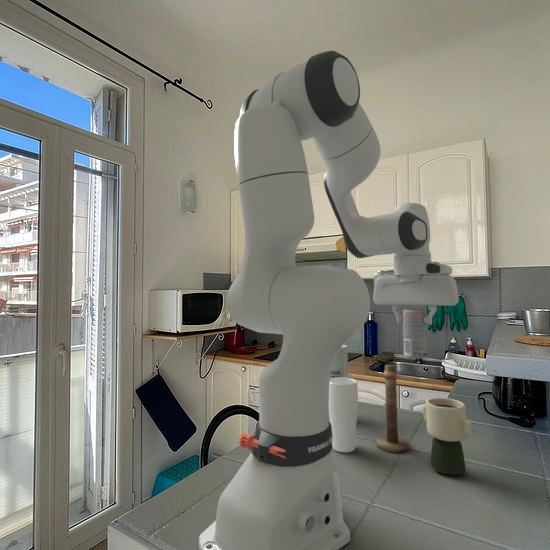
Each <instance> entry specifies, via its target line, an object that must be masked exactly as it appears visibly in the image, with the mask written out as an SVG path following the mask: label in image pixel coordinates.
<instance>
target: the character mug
mask: <svg viewBox="0 0 550 550" xmlns="http://www.w3.org/2000/svg"><path fill="white" fill-rule="evenodd" d="M422 409H423V411H422V412H423V419H424V421H426V430H427V433H428V435H429V436H430V437H432V443H431V452H430V466H431V468H432V469H433V470H435V471H437V472H439V473H442V474H447V475H458V474H463V473H464V474H465V473H467V468H466V461H465V456H464V455H465V454H464V449H463V445H462V442H461V441H463V440H465V439H466V438H468V439H471V438H472V437H473V423H472V421H471V420H470V419H468V417H467V416H468V415H467V407H466V404H465V403H464V402H463V401H460V400H457V399H453V398H446V397H431V398H427V399H426V401H425V404H423V407H422Z"/></svg>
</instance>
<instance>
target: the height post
mask: <svg viewBox="0 0 550 550" xmlns="http://www.w3.org/2000/svg"><path fill="white" fill-rule="evenodd" d="M383 374H384V375H383V377H384V384H385V386H384V387H385V388H384V389H385V420H386V421H385V422H386V423H385V424H386V425H385V426H386V435H380V436H378V437H376V439H375V440H376V441H375V442H376V446H377V448H378V449H379V450H382V451H383V452H387V453H390V454H391V453H393V454H402V453H403V454H404V453H406V452H408V451H409V449H410V442H409V441H408V440H407V439H405V438H403V437H401V436H399V433H398V432H399V429H398V400H397V399H398V397H397V395H398V394H397V393H398V392H397V391H398V390H397V379H398V371H397V365H394V364H384V370H383Z"/></svg>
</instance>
